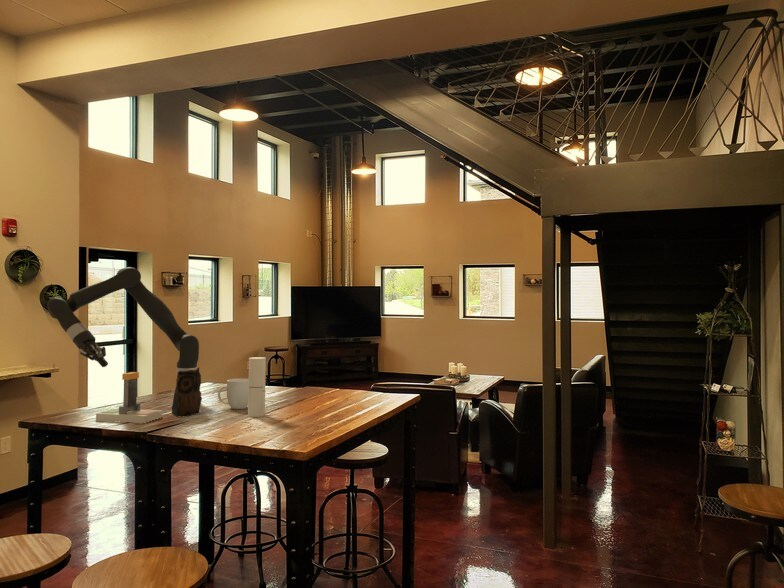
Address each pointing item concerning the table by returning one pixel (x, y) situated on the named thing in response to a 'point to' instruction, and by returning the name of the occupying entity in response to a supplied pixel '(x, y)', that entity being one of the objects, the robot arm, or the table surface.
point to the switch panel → (129, 415)
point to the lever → (130, 390)
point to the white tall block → (256, 387)
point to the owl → (187, 393)
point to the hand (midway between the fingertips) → (105, 365)
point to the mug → (236, 393)
